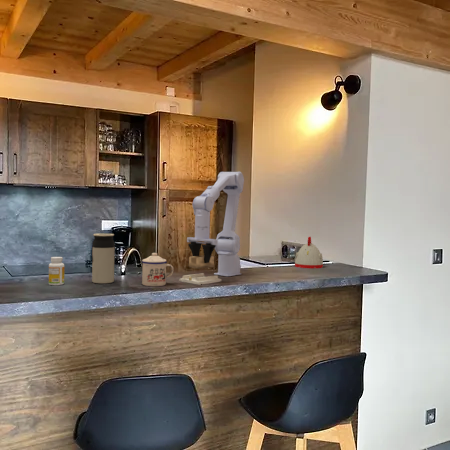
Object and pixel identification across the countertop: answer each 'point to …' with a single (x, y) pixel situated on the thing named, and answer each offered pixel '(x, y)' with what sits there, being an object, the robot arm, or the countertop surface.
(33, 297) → the countertop surface
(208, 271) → the countertop surface
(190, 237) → the robot arm
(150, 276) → the teacup with lid
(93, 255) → the travel mug
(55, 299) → the countertop surface
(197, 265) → the frame
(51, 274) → the supplement bottle
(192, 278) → the cream flat piece
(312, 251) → the kitchen timer
